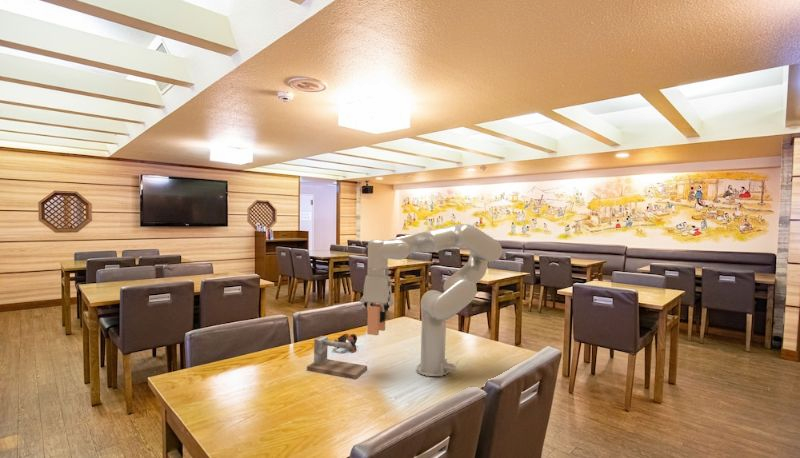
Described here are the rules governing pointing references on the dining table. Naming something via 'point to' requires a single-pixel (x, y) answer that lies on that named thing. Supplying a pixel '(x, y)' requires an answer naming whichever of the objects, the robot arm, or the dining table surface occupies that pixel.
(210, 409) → the dining table surface
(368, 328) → the saddle clip
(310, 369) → the hook stand
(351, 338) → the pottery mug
